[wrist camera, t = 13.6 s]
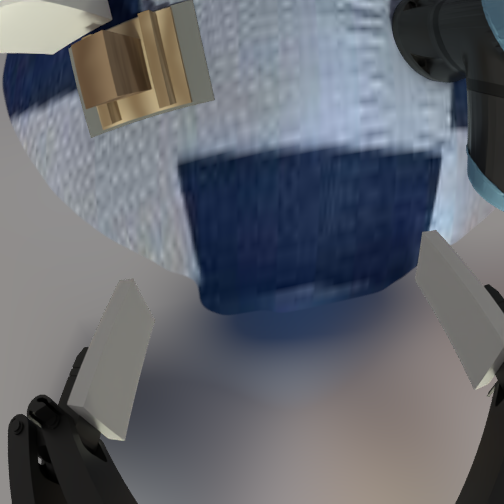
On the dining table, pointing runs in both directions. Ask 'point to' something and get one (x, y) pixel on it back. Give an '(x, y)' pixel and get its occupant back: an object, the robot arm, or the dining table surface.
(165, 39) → the rack
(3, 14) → the milk
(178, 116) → the dining table surface
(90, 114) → the mat
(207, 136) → the dining table surface
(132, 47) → the brown wooden block
